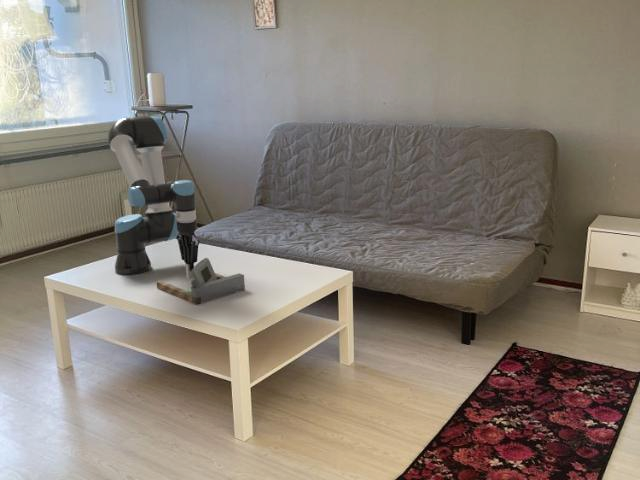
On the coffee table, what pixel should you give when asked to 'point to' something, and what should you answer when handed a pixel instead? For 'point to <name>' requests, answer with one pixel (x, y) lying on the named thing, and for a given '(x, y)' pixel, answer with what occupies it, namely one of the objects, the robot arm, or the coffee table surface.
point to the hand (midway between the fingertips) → (190, 278)
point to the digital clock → (203, 273)
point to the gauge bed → (181, 291)
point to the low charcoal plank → (218, 288)
